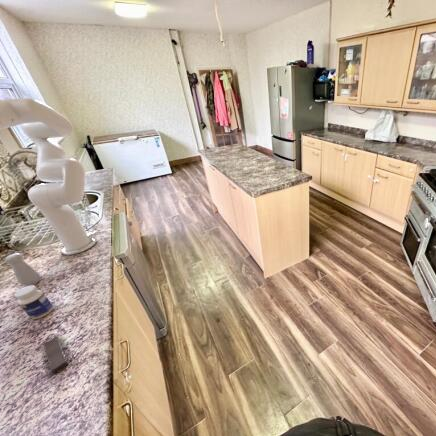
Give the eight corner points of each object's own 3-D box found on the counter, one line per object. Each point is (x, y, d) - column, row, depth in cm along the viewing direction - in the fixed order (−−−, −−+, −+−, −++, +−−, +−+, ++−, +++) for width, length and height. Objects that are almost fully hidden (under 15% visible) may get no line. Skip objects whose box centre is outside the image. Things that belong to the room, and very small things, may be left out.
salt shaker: (29, 288, 87) (7, 261, 81) (18, 287, 88) (-5, 260, 82) (46, 277, 92) (27, 251, 86) (35, 276, 93) (15, 250, 87)
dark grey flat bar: (45, 346, 66) (43, 343, 66) (59, 338, 68) (57, 335, 68) (53, 373, 59) (51, 371, 59) (68, 364, 61) (66, 361, 61)
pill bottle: (26, 322, 74) (6, 300, 69) (36, 308, 79) (18, 287, 74) (49, 315, 76) (31, 293, 71) (57, 303, 80) (40, 281, 76)
